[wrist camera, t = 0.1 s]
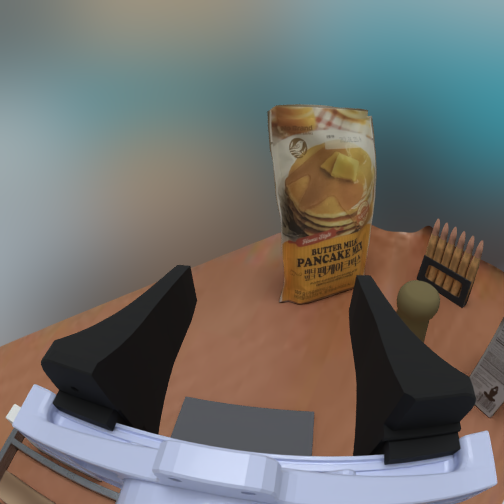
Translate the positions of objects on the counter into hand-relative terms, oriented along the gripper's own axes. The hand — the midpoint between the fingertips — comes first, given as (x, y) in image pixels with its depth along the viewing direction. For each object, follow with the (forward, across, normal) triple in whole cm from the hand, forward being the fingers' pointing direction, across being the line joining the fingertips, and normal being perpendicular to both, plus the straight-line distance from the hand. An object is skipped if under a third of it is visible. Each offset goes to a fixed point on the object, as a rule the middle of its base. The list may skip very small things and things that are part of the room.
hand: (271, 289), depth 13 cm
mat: (-2, +3, +22) cm, 22 cm away
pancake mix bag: (+29, -5, +24) cm, 38 cm away
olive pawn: (+14, -15, +23) cm, 31 cm away
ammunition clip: (+29, -27, +24) cm, 47 cm away
